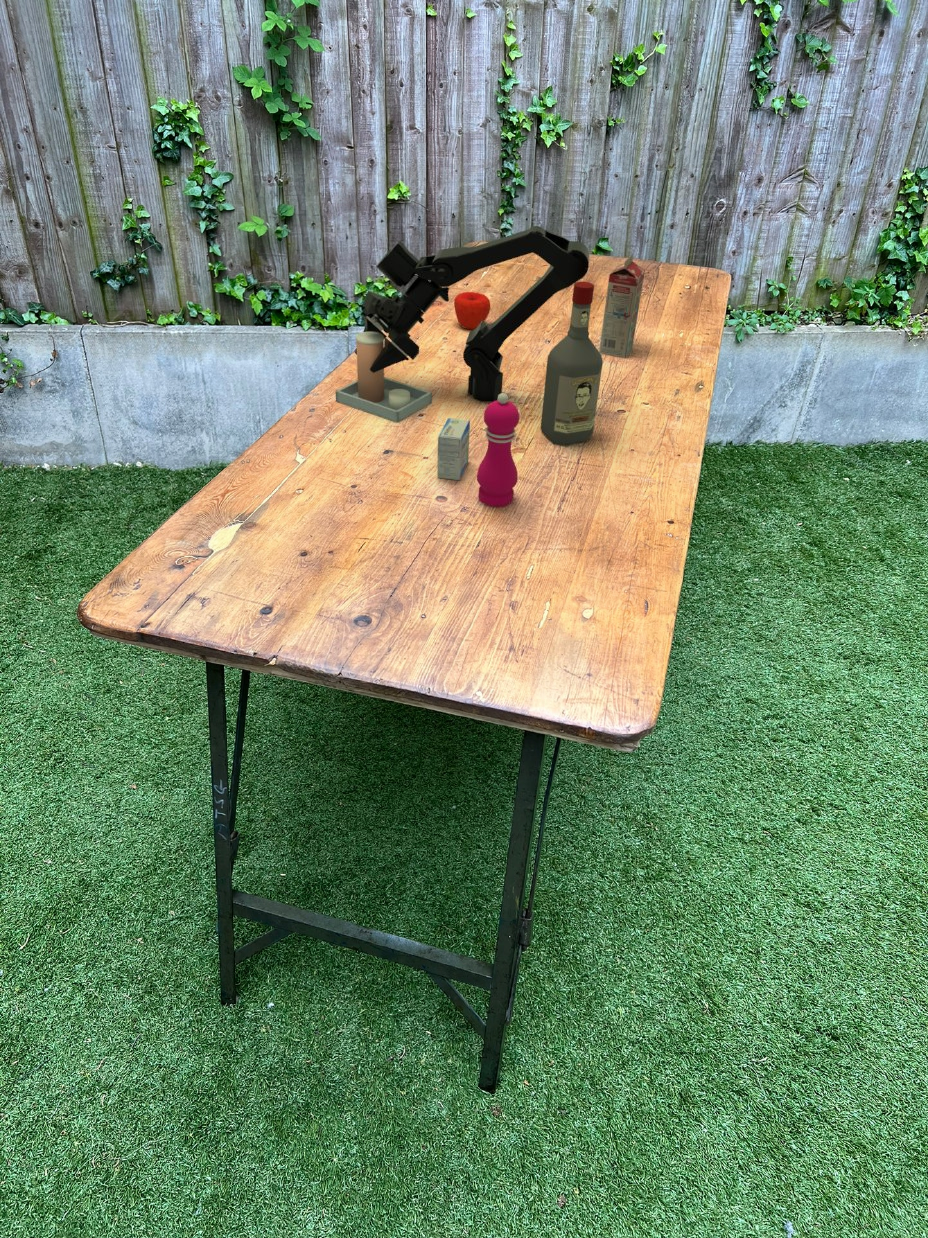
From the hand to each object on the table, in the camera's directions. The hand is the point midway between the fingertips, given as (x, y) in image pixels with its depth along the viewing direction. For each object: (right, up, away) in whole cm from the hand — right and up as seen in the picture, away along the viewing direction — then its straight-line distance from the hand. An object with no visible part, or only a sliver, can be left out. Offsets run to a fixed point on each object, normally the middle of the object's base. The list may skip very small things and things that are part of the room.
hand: (363, 362), depth 188 cm
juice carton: (+57, +12, +34) cm, 68 cm away
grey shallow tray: (+4, -8, +4) cm, 10 cm away
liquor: (+41, -16, -3) cm, 44 cm away
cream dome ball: (+7, -9, +2) cm, 11 cm away
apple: (+22, +21, +43) cm, 52 cm away
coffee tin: (+1, -6, +5) cm, 8 cm away
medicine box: (+18, -25, -16) cm, 35 cm away
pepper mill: (+26, -31, -24) cm, 47 cm away
